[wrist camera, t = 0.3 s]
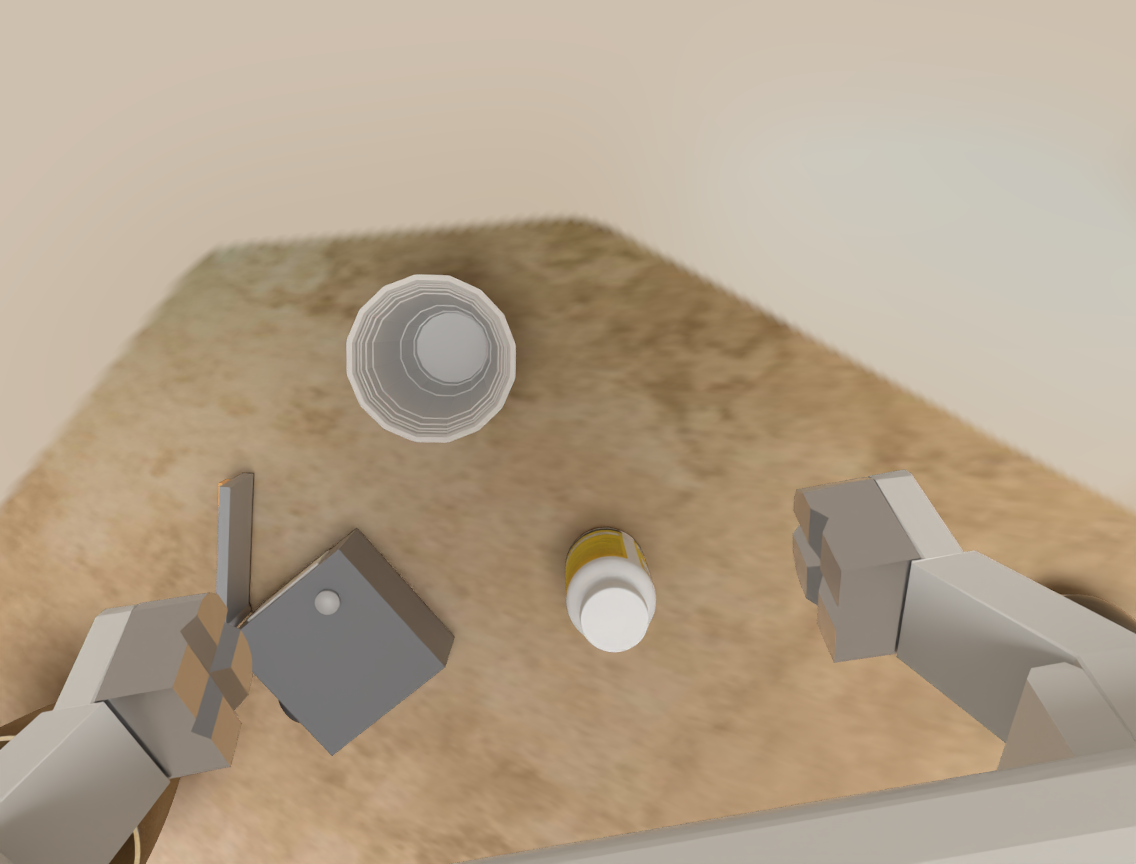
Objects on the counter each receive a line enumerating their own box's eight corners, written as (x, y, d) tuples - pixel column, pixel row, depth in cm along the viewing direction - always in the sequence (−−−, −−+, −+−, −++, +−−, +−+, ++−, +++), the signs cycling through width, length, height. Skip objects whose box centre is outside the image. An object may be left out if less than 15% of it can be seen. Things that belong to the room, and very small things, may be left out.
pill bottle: (549, 556, 67) (546, 611, 56) (613, 509, 67) (624, 555, 55) (597, 616, 68) (604, 683, 57) (661, 571, 68) (681, 629, 56)
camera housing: (454, 636, 68) (444, 670, 62) (341, 726, 70) (320, 767, 64) (355, 526, 67) (335, 549, 61) (241, 620, 68) (210, 652, 62)
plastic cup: (535, 404, 65) (529, 430, 53) (400, 426, 65) (364, 457, 54) (511, 264, 63) (499, 259, 51) (372, 288, 64) (328, 288, 52)
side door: (255, 473, 66) (231, 489, 61) (250, 616, 68) (226, 642, 63) (234, 471, 66) (207, 486, 61) (229, 614, 68) (203, 640, 63)
